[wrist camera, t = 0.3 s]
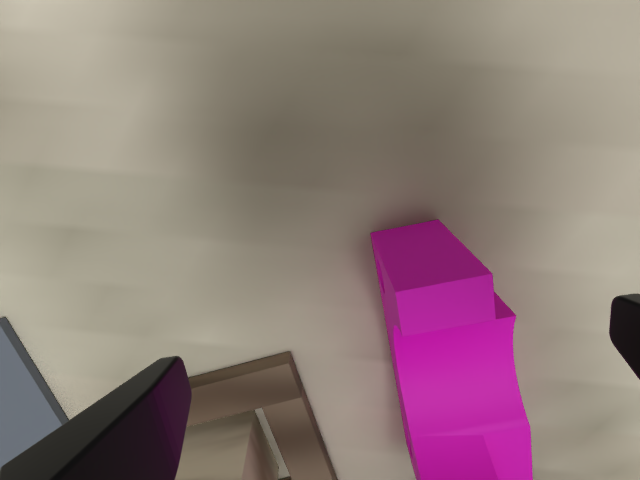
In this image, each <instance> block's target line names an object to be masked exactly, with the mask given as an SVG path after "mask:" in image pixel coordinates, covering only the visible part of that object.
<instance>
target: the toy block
mask: <svg viewBox="0 0 640 480" xmlns="http://www.w3.org/2000/svg"><path fill="white" fill-rule="evenodd" d="M370 234H371V239H372V245H373V251H374V257H375V263H376V269H377V274H378V280H379V286H380V292H381V298H382V304H383V309H384V315H385V321H386V327H387V333H388V338H389V344H390V350H391V356H392V362H393V368H394V373H395V379H396V385H397V391H398V397H399V403H400V408H401V414H402V420H403V426H404V432H405V437H406V443H407V447H408V451H409V454H410V458H411V462H412V465H413V469H414V473H415V476H416V480H533V476H532V455H531V434H530V425H529V422H528V419H527V416H526V413H525V409H524V406H523V403H522V399H521V395H520V391H519V387H518V382H517V377H516V371H515V365H514V356H513V329H514V322H515V319H516V315H515V314H514V313H513V312H512V311H511V309H510V308H509V307H508V306H507V305H506V304H505V303H504V302H503V301H502V300H501V299H500V297H499V296H498V295H497V294H496V293H495V292H494V289H493V275H492V273H491V272H490V271H489V270H488V269H487V268H486V267H485V266H484V265H483V264H482V263H481V262H480V261H479V260H478V259H477V258H476V257H475V256H474V255H473V254H472V253H471V252H470V251H469V250H468V249H467V248H466V247H465V246H464V245H463V244H462V243H461V242H460V241H459V240H458V239H457V238H456V237H455V236H454V235H453V234H452V233H451V232H450V231H449V230H448V229H447V228H446V227H445V226H444V225H443V224H442V223H441V222H440V221H439V220H433V221H428V222H423V223H418V224H413V225H408V226H403V227H398V228H393V229H388V230H382V231H377V232H372V233H370Z"/></svg>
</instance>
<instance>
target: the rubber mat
mask: <svg viewBox="0 0 640 480" xmlns="http://www.w3.org/2000/svg"><path fill="white" fill-rule="evenodd" d="M68 421H69V420H68V419H67V417H66V415H65V414H64V412H63V410H62V409H61V407H60V405H59V404H58V402H57V401H56V399H55V397H54V396H53V394H52V392H51V391H50V389H49V387H48V386H47V384H46V383H45V381H44V379H43V378H42V376H41V374H40V373H39V371H38V370H37V368H36V366H35V365H34V363H33V361H32V360H31V358H30V356H29V355H28V353H27V352H26V350H25V348H24V347H23V345H22V343H21V342H20V340H19V339H18V337H17V335H16V334H15V332H14V330H13V329H12V327H11V325H10V324H9V322H8V321H7V319H6V317H4V318H1V319H0V469H1V467H2V466H3V465H4V464H6V463H7V462H9V461H10V460H12V459H13V458H15V457H16V456H18V455H19V454H20V453H22V452H23V451H25V450H26V449H28V448H29V447H31V446H32V445H34V444H35V443H37V442H38V441H40V440H41V439H43V438H44V437H45V436H47V435H48V434H50V433H51V432H53V431H54V430H56V429H57V428H59V427H60V426H62V425H63V424H65V423H66V422H68Z"/></svg>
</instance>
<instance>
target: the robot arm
mask: <svg viewBox="0 0 640 480" xmlns="http://www.w3.org/2000/svg"><path fill="white" fill-rule="evenodd" d="M609 334H610V338H611V341H612V343H613V345H614V346H615V347H616V349H617V350H618V351H619V353H620V354H621V355H622V357H623V358H624V359H625V361H626V362H627V363H628V365H629V366H630V367H631V369H632V370H633V371H634V373H635V374H636V375H637V377H638V378H639V379H640V294H628V295H621V296H617V297H615V298H614V299H613V301H612V305H611V316H610V329H609ZM191 400H192V391H191V386H190V383H189V379H188V376H187V373H186V369H185V366H184V362H183V360H182V359H181V358H180V357H179V356H173V357H166V358H161V359H159V360H157V361H156V362H154V363H153V364H151V365H150V366H148V367H147V368H145V369H144V370H142V371H141V372H140V373H138V374H137V375H135V376H134V377H132V378H131V379H129V380H128V381H126V382H125V383H123V384H122V385H120V386H119V387H118V388H116V389H115V390H113V391H112V392H110V393H109V394H107V395H106V396H104V397H103V398H101V399H100V400H98V401H97V402H95V403H94V404H93V405H91V406H90V407H88V408H87V409H85V410H84V411H82V412H81V413H79V414H78V415H76V416H75V417H73V418H72V419H70V420H69V421H68V422H66V423H65V424H63V425H62V426H60V427H59V428H57V429H56V430H54V431H53V432H51V433H50V434H48V435H47V436H45V437H44V438H43V439H41V440H40V441H38V442H37V443H35V444H34V445H32V446H31V447H29V448H28V449H26V450H25V451H23V452H22V453H20V454H19V455H18V456H16V457H15V458H13V459H12V460H10V461H9V462H7V463H6V464H4V465H3V466H2V467H1V469H0V480H175V477H176V474H177V470H178V466H179V462H180V457H181V452H182V447H183V442H184V436H185V431H186V426H187V421H188V416H189V410H190V405H191Z"/></svg>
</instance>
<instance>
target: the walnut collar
mask: <svg viewBox="0 0 640 480" xmlns="http://www.w3.org/2000/svg"><path fill="white" fill-rule="evenodd" d="M188 379H189V383H190V386H191V391H192V400H191V405H190V410H189V416H188V421H187V426H191V425H195V424H199V423H203V422H207V421H210V420H214V419H218V418H222V417H226V416H230V415H234V414H238V413H242V412H246V411H250V410H254V409H258V408H262V409H263V412H264V414H265V416H266V419H267V421H268V424H269V426H270V428H271V431H272V433H273V436H274V438H275V440H276V443H277V445H278V448H279V450H280V452H281V455H282V457H283V459H284V462H285V464H286V467H287V469H288V471H289V474H290V476H291V477H288V478H283V479H279V480H337V477H336V475H335V472H334V469H333V467H332V464H331V461H330V458H329V456H328V453H327V450H326V448H325V445H324V442H323V440H322V437H321V434H320V431H319V429H318V426H317V423H316V421H315V418H314V415H313V413H312V410H311V407H310V405H309V402H308V399H307V396H306V394H305V391H304V388H303V386H302V383H301V380H300V378H299V375H298V372H297V369H296V367H295V364H294V361H293V359H292V356H291V353H290V351H289V352H285V353H281V354H278V355H274V356H270V357H266V358H263V359H259V360H255V361H251V362H247V363H244V364H240V365H236V366H232V367H228V368H225V369H221V370H217V371H213V372H209V373H206V374H202V375H198V376H194V377H190V378H188ZM187 426H186V427H187Z"/></svg>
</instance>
